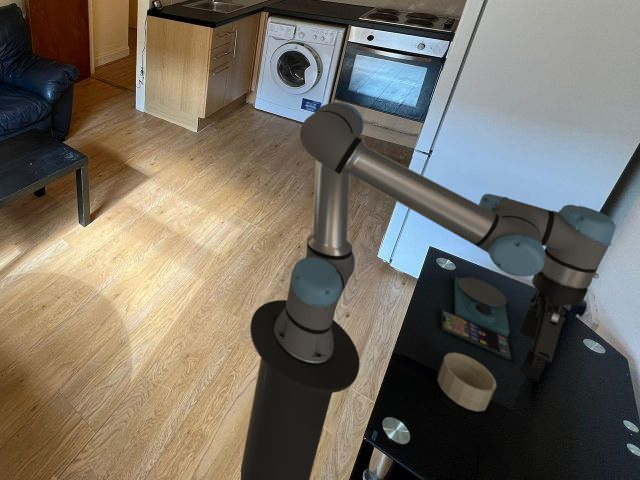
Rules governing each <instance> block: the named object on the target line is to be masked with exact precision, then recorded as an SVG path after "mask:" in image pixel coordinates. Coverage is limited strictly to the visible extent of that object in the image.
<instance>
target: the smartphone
mask: <svg viewBox="0 0 640 480" xmlns="http://www.w3.org/2000/svg"><path fill="white" fill-rule="evenodd" d="M441 329H442V330H443V331H445V332H447V333H449V334H451V335H453V336H455V337H459V338H460V339H463V340H465V341H467V342H469V343H471V344H474V345H476V346H478V347H481V348H483V349H485V350H487V351H489V352H492V353H493V354H496V355H498V356H500V357H503V358H505V359H507V360H510V361H511V360H512V353H511V349H510V344H509V339H508V337H506V336H504V335H501V334H499V333H497V332H494V331H492V330H489V329H487V328H485V327H482V326H480V325H478V324H475V323H473V322H470V321H468V320H466V319H463V318H461V317H458V316H456V315H455V314H453V313H450V312H448V311H446V310H443V309H442V310H441Z"/></svg>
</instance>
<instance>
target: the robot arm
mask: <svg viewBox="0 0 640 480" xmlns="http://www.w3.org/2000/svg"><path fill="white" fill-rule="evenodd" d="M363 130H364V118H363V116H362V114H361V113H360V111H359V110H358V109H357V108H356V107H354V106H353V105H351V104H349V103H347V102H342V101H333V102H329V103H326V104H324V105H321V106H320V107H319V108H318V109H317V110H316V111H315V112H313V113H312V114H311V115H309V116H307V118H306V119H305V120H304V121H303V122H302V124H301V127H300V129H299V138H300V142H301V145H302V146H303V149H304V150H305V151H306V152H307V153H308V155H310V156H311V157H312V158H313V159H314V160H315V165H314V166H315V167H314V168H315V169H314V195H313V224H312V225H313V226H312V232H311V233H310V234H308V236H307V238H306V255H305V257H303V258H301V259H299V260H298V261H297V262H295V264H294V266H293V268H292V270H291V274H290V282H289V286H288V292H287V298H286V300H287V302H286V307H285V309H284V310H283V312H282V313H281V314H280V315H279V316H273V318H277V320H276V322H275V326H274V335H275V339H276V341H277V343H278V344H279V346H280V347H281V348H282V350H283V351H284V352H285V353H287V354H288V355H289V356H290V357H292V358H293V359H295V360H297V361H299V362H302V363H304V364H308V365H323V364H325V363H327V362H328V361H330V359H331V358H332V356H333V352H334V340H333V337H334V335H332V334H333V333H332V329H331V326H332V322H333V320H334V318H335V313H336V309H337V307H338V303H339V301H340V299H341V297H342V295H343V292H344V291H345V288H346V286H347V284H348V282H349V280H350V277H351V276H353V273H354V271H355V265H356V257H355V254H354V252H353V245H352V242H351V241H350V240H349V239H348V219H349V203H350V188H351V187H350V186H351V185H350V184H351V183H350V182H351V177H353V178H354V179H356V180H358V181H360V182H361V183H363V184H365V185H367V186H368V187H370V188H372V189H374V190H376V191H378V192H380V193H381V194H383V195H384V196H387V197H388V198H390V199H392V200H394V201H395V202H397V203H398V204H401V205H403V206H404V207H406V208H408V209H409V210H411V211H413V212H415V213H416V214H419V216H420V215H421V216H422V217H423V218H426V219H427V220H430V221H431V222H432V223H435V224H436V225H438V226H440V227H442V228H444V229H445V230H448V231H449V232H450V233H452V234H455V235H456V236H458V237H460V238H461V239H464V240H465V241H467V242H469V243H470V244H472V245H474V246H475V247H477V248H479V249H481V250H482V251H484V252H486V253H488V255H489V258H490V260H491V262H492V263H493V264H494V265H495V266H496V267H497V268H498V269H499V270H501V271H502V272H504V273H506V274H508V275H512V276H515V277H523V278H524V277H532V276H533V277H532V279H531V283H532V285H533V287H534V288H535V292H534V293H533V294H532V295H531V298H529V302H530V303H529V309H528V311H527V313H526V315H525V317H524V320H523V322H522V325H521V327H520V329H519V334H521V335H524V336H525V337H528V338H530V339H533V344H532V346H527V347H526V350H527V354H526V357H525V358H524V361H523V362H522V363H523V364H522V365H521V368H520V370H519V371H520V373H521V374H522V375H525V376H527V377H529V378H531V379H533V380H535V381H537V382H539V380H540V378H541V376H542V373H543V371H544V369H545V367H546V365H547V363H549V364H552V362H553V357H554V354H555V351H556V348H557V344H558V341H559V337H560V334H561V330H562V327H563V325H564V322H565V321H566V313H567V307H566V305H570V306H579V305H581V304H582V303H584V299H585V298H586V295H587V293H588V291H589V287H590V286H591V284H592V282H593V279H598V278H599V277H600V276H599V273H597V271H598V268H599V266H600V264H601V262H602V261H603V260H604V259H603V258H604V257H605V254H606V253H607V250H608V249H609V247H610V246H612V243H611V242H612V240H613V237H614V234H615V231H616V227H617V225H616V223H615V222H614V220H613V219H612V218H611V217H609V216H607V215H606V214H605V213H603V212H600V211H599V210H595V209H593V208H589V207H586V206H582V205H575V204H566V205H564V206H562V207H561V208H560V209H559V211H555V210H549V209H546V208H543V207H539V206H537V205H533V204H529V203H526V202H522V201H518V200H515V199H513V198H509V197H507V196H501V195H496V194H492V193H485V194H483V195H482V196H481V198H480V200H479V203H476V202H474V201H472V200H470V199H468V198H467V197H464V196H463V195H461V194H459V193H457V192H455V191H453V190H451V189H449V188H448V187H445V186H443V185H442V184H439V183H437V182H435V181H434V180H432V179H429V178H428V177H426V176H424V175H422V174H420V173H419V172H416V171H414V170H412V169H410V168H408V167H406V166H405V165H402V164H401V163H399V162H397V161H395V160H393V159H391V158H389V157H387V156H385V155H383V154H381V153H379V152H377V151H376V150H373V149H372V148H370V147H368V146H367V145H366V143H365V140H364V139H362V138H360V136H361V135H362V133H363ZM544 247H545V248H544Z"/></svg>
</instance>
